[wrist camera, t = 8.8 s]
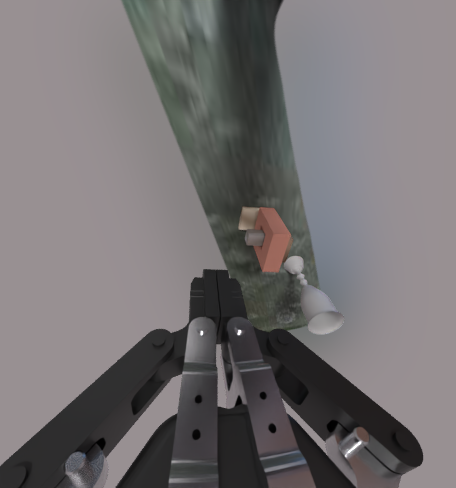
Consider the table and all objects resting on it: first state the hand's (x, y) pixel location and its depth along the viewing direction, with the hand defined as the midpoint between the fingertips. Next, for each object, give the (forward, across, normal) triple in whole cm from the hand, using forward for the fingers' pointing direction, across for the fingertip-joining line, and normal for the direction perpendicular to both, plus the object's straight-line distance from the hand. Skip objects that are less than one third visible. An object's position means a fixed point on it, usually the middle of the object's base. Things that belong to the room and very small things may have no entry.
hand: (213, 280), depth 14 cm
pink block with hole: (+30, -13, +12) cm, 35 cm away
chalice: (+33, -25, +24) cm, 48 cm away
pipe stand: (+33, -12, +12) cm, 37 cm away
